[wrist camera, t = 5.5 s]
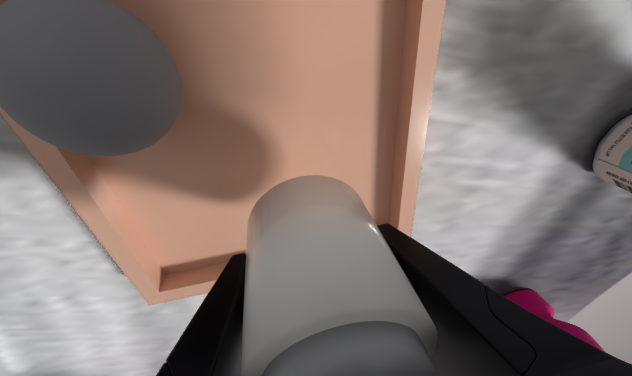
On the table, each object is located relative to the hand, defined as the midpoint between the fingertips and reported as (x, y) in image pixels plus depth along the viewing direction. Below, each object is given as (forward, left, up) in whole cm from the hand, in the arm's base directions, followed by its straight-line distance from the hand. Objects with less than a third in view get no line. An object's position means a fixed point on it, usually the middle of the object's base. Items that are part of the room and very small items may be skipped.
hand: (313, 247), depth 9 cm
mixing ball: (-5, +6, -4) cm, 9 cm away
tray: (-1, +2, -5) cm, 5 cm away
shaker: (0, 0, -1) cm, 1 cm away
